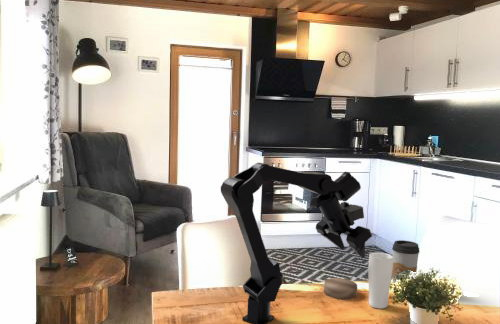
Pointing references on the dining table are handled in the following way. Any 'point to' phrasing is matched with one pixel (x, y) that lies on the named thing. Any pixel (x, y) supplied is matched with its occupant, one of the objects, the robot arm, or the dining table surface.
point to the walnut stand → (340, 288)
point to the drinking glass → (379, 279)
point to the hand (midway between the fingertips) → (353, 252)
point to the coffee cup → (404, 257)
